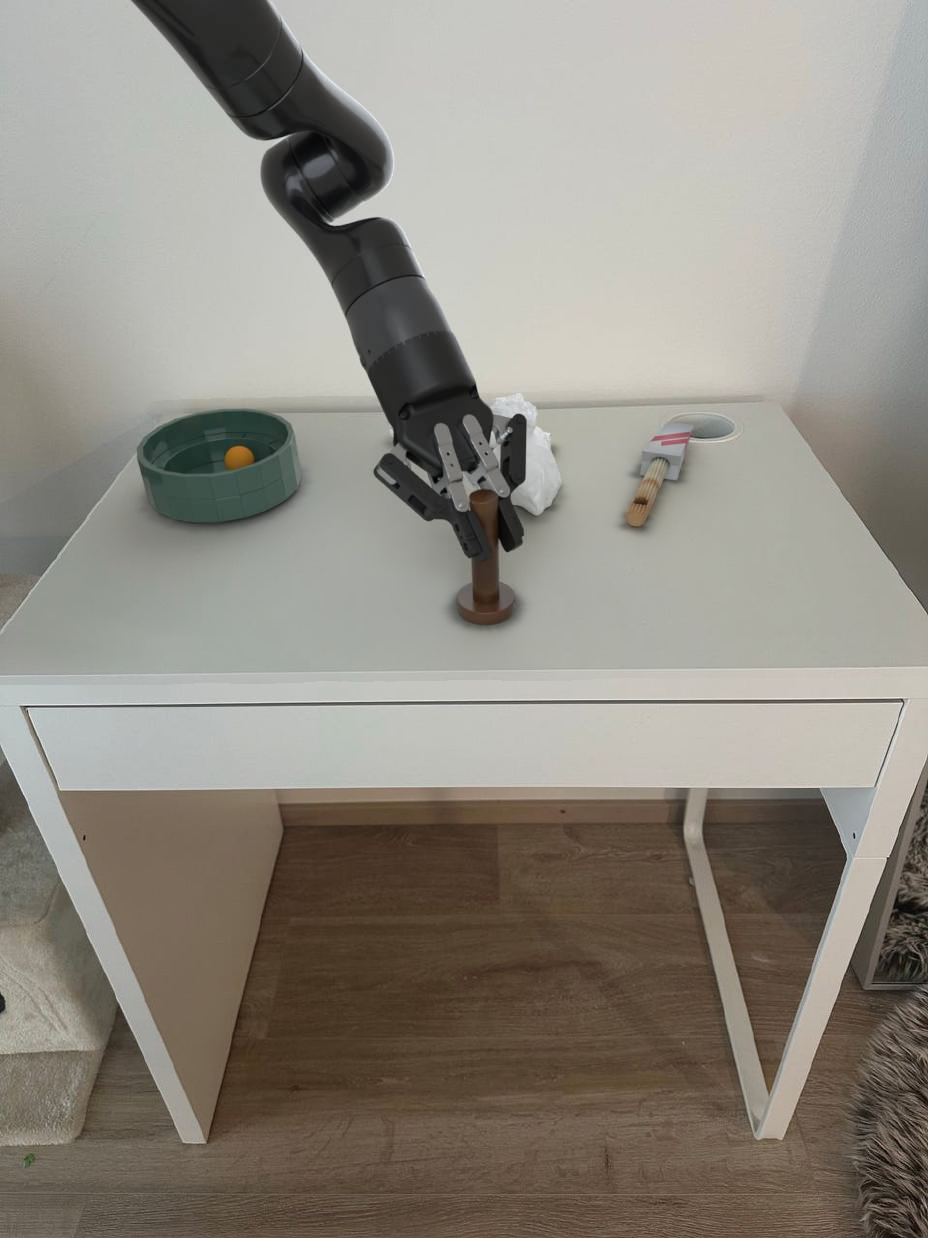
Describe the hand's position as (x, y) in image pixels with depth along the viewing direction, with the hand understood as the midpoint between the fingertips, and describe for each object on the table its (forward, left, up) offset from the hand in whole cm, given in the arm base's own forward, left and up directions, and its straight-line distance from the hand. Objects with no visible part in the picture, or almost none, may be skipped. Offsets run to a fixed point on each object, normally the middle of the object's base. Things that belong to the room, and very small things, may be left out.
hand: (499, 552), depth 72 cm
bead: (+16, +33, -4) cm, 37 cm away
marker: (+29, +13, -7) cm, 33 cm away
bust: (+20, +4, -7) cm, 22 cm away
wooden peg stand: (+1, +2, -6) cm, 7 cm away
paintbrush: (+27, -8, -7) cm, 29 cm away
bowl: (+13, +34, -6) cm, 37 cm away
